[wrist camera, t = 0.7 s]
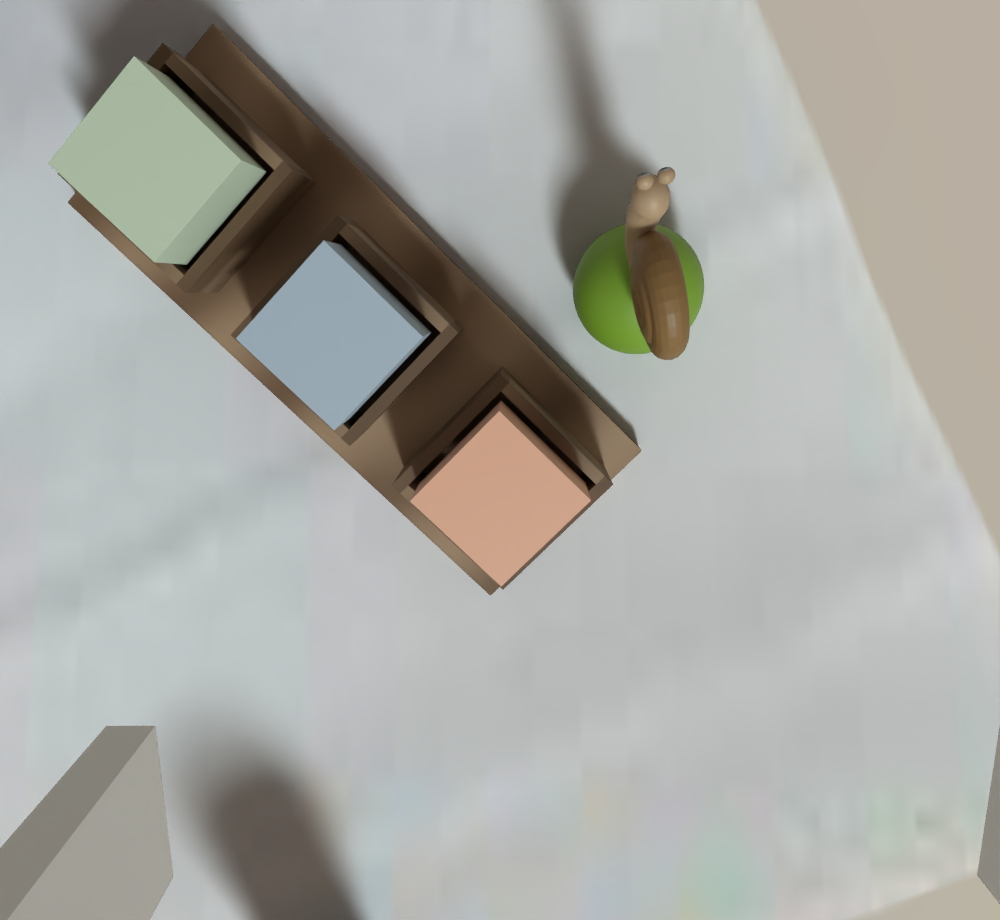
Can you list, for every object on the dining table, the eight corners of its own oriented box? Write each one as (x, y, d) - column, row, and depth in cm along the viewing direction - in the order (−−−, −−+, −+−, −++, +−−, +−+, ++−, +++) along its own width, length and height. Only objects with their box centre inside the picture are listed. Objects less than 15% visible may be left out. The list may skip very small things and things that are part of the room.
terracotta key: (419, 483, 35) (409, 501, 32) (501, 400, 34) (499, 411, 31) (502, 561, 35) (501, 586, 32) (585, 482, 34) (591, 500, 31)
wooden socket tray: (79, 204, 37) (17, 193, 32) (221, 31, 35) (177, -7, 30) (491, 588, 40) (487, 626, 35) (638, 446, 38) (654, 467, 34)
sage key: (91, 174, 32) (48, 163, 29) (170, 77, 31) (134, 56, 29) (187, 264, 33) (154, 262, 30) (267, 171, 32) (241, 160, 29)
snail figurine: (671, 190, 36) (744, 143, 24) (699, 332, 37) (782, 353, 25) (552, 222, 36) (566, 190, 25) (584, 361, 38) (612, 395, 26)
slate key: (260, 333, 33) (235, 338, 30) (341, 244, 33) (323, 240, 30) (350, 417, 34) (334, 430, 31) (431, 332, 33) (422, 336, 30)
